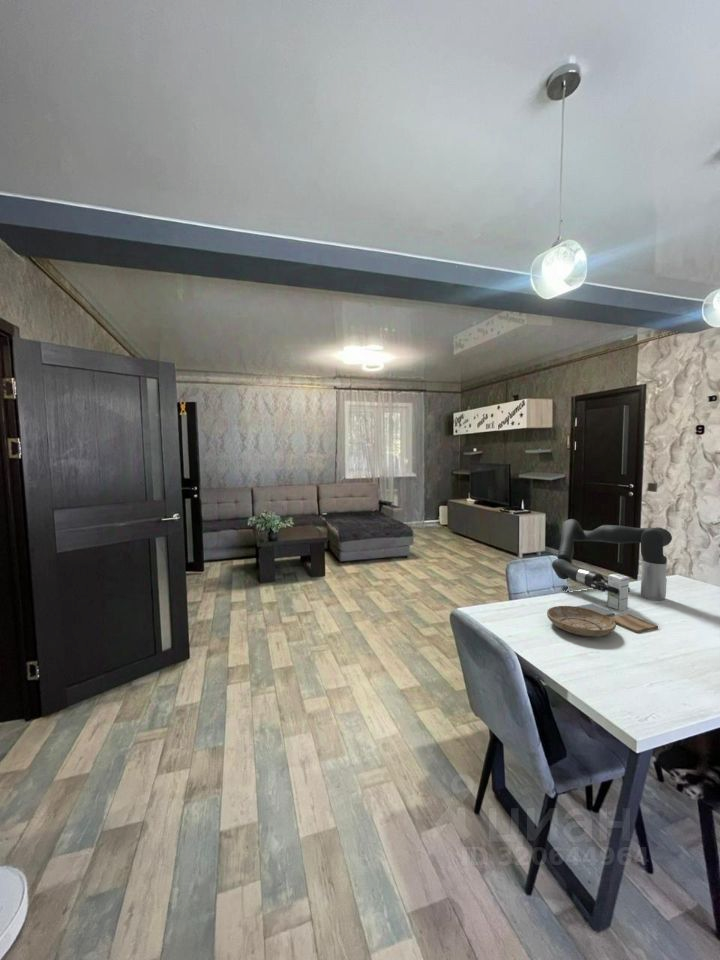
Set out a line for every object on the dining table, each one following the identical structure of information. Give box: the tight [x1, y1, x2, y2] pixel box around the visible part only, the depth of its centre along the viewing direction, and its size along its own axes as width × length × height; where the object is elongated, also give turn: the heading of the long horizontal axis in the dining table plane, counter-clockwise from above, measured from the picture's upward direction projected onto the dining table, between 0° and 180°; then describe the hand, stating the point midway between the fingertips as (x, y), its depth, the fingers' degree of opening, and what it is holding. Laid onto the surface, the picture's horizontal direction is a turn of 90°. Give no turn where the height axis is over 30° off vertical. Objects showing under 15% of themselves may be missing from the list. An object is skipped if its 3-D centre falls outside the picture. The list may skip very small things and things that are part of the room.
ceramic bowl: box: [546, 605, 617, 637], centre depth 153 cm, size 23×24×5 cm
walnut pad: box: [609, 613, 659, 634], centre depth 157 cm, size 12×12×1 cm
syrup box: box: [606, 573, 630, 611], centre depth 172 cm, size 6×6×14 cm
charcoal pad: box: [575, 603, 616, 617], centre depth 168 cm, size 11×11×1 cm
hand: (623, 590), depth 170 cm, fingers closed on syrup box, 6 cm apart
